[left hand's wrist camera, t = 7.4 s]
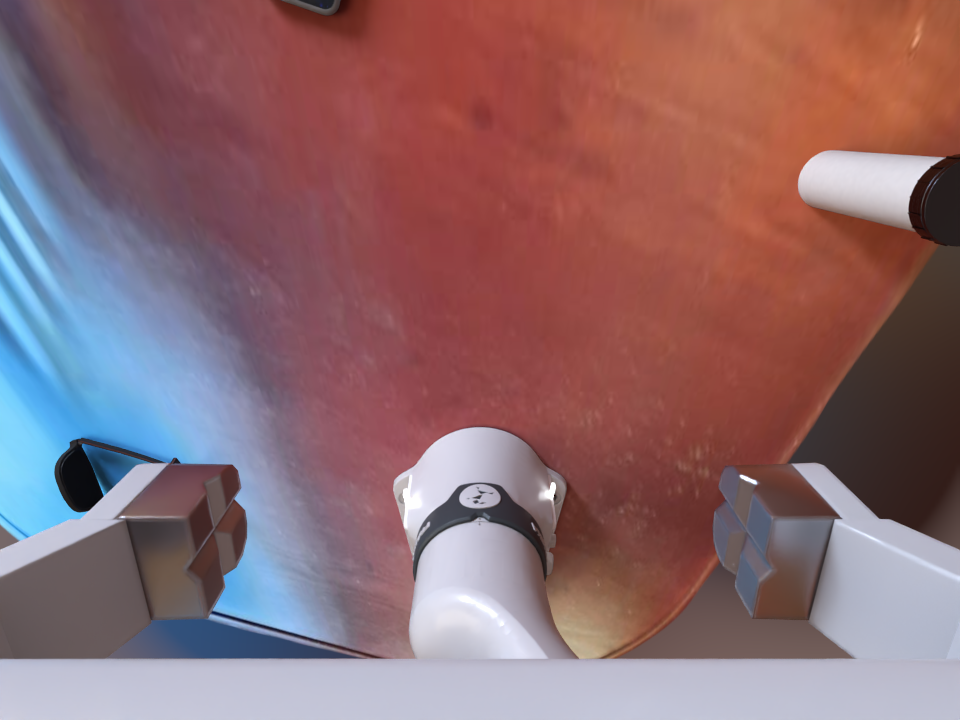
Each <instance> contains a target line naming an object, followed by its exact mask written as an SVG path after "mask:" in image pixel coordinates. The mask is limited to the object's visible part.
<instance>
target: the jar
mask: <svg viewBox="0 0 960 720" xmlns="http://www.w3.org/2000/svg"><path fill="white" fill-rule="evenodd" d="M942 159H945V158H943V157H928V156H913V155H897V154H882V153H867V152H852V151H837V150H829V151H824V152H821V153H819V154H817V155H815V156H814V157H813V158H811V159H810V160H809V161H808V162H807V163H806V164H805V166H804V167H803V169H802V171H801V173H800V176H799V180H798V190H799V194H800V196H801V198H802V199H803V201H804V202H805V203H806V204H808V205H809V206H812V207H815V208H819V209H823V210H827V211H831V212H835V213H839V214H844V215H848V216H852V217H856V218H860V219H864V220H869V221H873V222H877V223H881V224H885V225H889V226H893V227H898V228H902V229H906V230H910V231H914V232H916V231H915V230H914V228H912V225H911V222H910V219H909V214H908V207H909V200H910V198H909V197H910V196H911V193H912V191H913V189H914V187H915V185H916V183H917V182H918V181H917V180H919V179H920V178H921V176H922V175H923V174H924V173H925V172H926V171H927V170H928V169H929V168H930V166H933V165H934V164H936V163H937V162H939V161H941V160H942Z"/></svg>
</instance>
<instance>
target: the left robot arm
mask: <svg viewBox="0 0 960 720" xmlns="http://www.w3.org/2000/svg"><path fill="white" fill-rule="evenodd" d="M240 489H241V484H240V479H239V474H238V470H237V469H236V468H235V467H234V466H233V465H224V464H171V463H147V464H139V465H136V466H135V467H134V468H133V469H132V470H131V471H130V472H129V473H128V474H127V475H126V476H125V477H124V478H123V479H122V480H121V481H120V482H118V483H117V484H116V485H115V486H114V487H113V488H112V489H111V490H110V491H109V492H108V493H107V494H106V495H105V496H104V497H103V498H102V499H101V500H100V501H99V502H98V503H97V504H96V505H95V506H94V507H93V508H92V509H91V510H90V511H89V512H88V513H86V514H85V515H84V516H83V517H82V518H81V519H70V520H68V521H66V522H63V523H61V524H59V525H56V526H54V527H52V528H49V529H47V530H45V531H43V532H40V533H38V534H36V535H33V536H31V537H29V538H26V539H24V540H22V541H19V542H17V543H15V544H13V545H10V546H8V547H6V548H3V549H1V550H0V720H960V550H959V549H956V548H954V547H952V546H950V545H947V544H945V543H943V542H940V541H938V540H936V539H933V538H931V537H929V536H927V535H924V534H922V533H920V532H917V531H915V530H913V529H911V528H908V527H906V526H904V525H901V524H899V523H897V522H894V521H892V520H890V519H879V518H878V517H877V516H876V515H875V514H874V513H873V512H872V511H870V510H869V509H868V508H867V507H866V506H865V505H864V504H863V503H862V502H861V501H860V500H859V499H858V498H857V497H856V496H855V495H854V494H853V493H852V492H851V491H850V490H849V489H848V488H847V487H846V486H845V485H844V484H843V483H842V482H841V481H840V480H839V479H837V477H835V476H834V475H833V474H832V473H831V472H830V471H829V470H828V469H827V468H826V467H825V466H824V465H821V464H818V463H800V464H763V465H730V466H725V467H724V470H723V472H722V474H721V478H720V483H719V489H720V491H721V492H722V494H723V495H724V497H725V498H726V500H725V501H724V502H723V503H722V504H721V505H720V506H719V507H718V508H717V509H716V510H715V513H714V521H713V537H714V546H715V549H716V552H717V555H718V558H719V559H720V561H721V563H722V565H723V567H724V568H726V569H727V570H729V571H730V572H732V573H733V574H735V575H736V576H737V577H736V583H735V589H736V590H737V592H738V594H739V596H740V598H741V599H742V601H743V603H744V605H745V606H746V608H747V610H748V612H749V614H750V615H751V617H752V618H753V619H785V620H809V623H810V624H811V625H812V626H813V627H815V628H816V629H817V630H819V631H820V632H821V633H822V634H824V635H825V636H826V637H828V638H829V639H830V640H831V641H833V642H834V643H835V644H837V645H838V646H839V647H840V648H842V649H843V650H844V651H846V652H847V653H848V654H849V655H851V656H852V657H853V658H855V659H579V658H578V657H577V656H576V655H575V654H574V652H573V651H572V650H571V649H570V648H569V646H568V645H567V644H566V642H565V641H564V639H563V638H562V637H561V635H560V633H559V631H558V630H557V628H556V625H555V623H554V620H553V616H552V613H551V609H550V605H549V601H548V597H547V592H546V586H545V580H546V575H551V573H552V570H553V562H554V558H553V554H552V553H551V552H549V549H550V548H554V547H555V545H556V535H555V534H554V532H555V528H556V525H557V522H558V518H559V515H560V511H561V508H562V505H563V501H564V498H565V494H566V490H567V487H566V481H565V479H564V478H563V477H562V476H561V475H559V474H558V473H556V472H555V471H553V470H551V469H550V468H548V467H546V466H545V465H544V464H543V463H542V461H541V460H540V459H539V457H538V456H537V454H536V453H535V452H534V451H533V449H532V448H531V447H530V446H529V445H528V444H526V443H525V442H524V441H523V440H521V439H520V438H518V437H516V436H514V435H512V434H510V433H508V432H505V431H502V430H498V429H494V428H486V427H474V428H466V429H462V430H458V431H455V432H452V433H450V434H448V435H446V436H444V437H442V438H440V439H439V440H437V441H436V442H435V443H434V444H432V445H431V446H430V447H429V448H428V449H427V451H426V452H425V453H424V454H423V456H422V457H421V459H420V460H419V461H418V463H417V464H416V465H415V466H414V467H412V468H410V469H409V470H407V471H405V472H404V473H402V474H401V475H399V476H398V477H397V478H396V479H395V481H394V487H393V490H394V494H395V498H396V501H397V504H398V508H399V511H400V515H401V518H402V522H403V525H404V528H405V532H406V535H407V539H408V542H409V545H410V549H411V552H412V556H413V575H414V580H415V589H414V596H413V603H412V610H411V617H410V625H409V637H410V643H411V647H412V650H413V653H414V655H415V658H416V659H106V658H107V657H108V656H109V655H111V654H112V653H113V652H114V651H116V650H117V649H118V648H120V647H121V646H122V645H124V644H125V643H126V642H127V641H129V640H130V639H131V638H133V637H134V636H135V635H136V634H138V633H139V632H140V631H142V630H143V629H144V628H146V627H147V626H148V625H149V624H151V620H174V619H208V617H209V615H210V614H211V612H212V610H213V608H214V607H215V605H216V603H217V601H218V599H219V598H220V596H221V594H222V592H223V590H224V589H225V582H224V577H223V576H224V575H225V574H227V573H228V572H230V571H232V570H233V569H235V568H236V567H237V565H238V563H239V561H240V559H241V557H242V555H243V552H244V548H245V544H246V539H247V519H246V513H245V510H244V509H243V508H242V507H241V506H240V505H239V504H238V503H237V502H236V501H235V500H234V498H235V497H236V495H237V494H238V492H239V491H240ZM554 494H555V495H556V496H555V497H553V495H554Z"/></svg>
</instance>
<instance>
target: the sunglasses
mask: <svg viewBox="0 0 960 720" xmlns="http://www.w3.org/2000/svg"><path fill="white" fill-rule="evenodd" d="M83 443H84V444H88V445H91V446H95V447H99V448H103V449H106V450H110V451H114V452H117V453H121V454H124V455H128V456H131V457H134V458H138V459H141V460H144V461H147V462H150V463H165V462H162V461H159V460H157V459H154V458H151V457H148V456H145V455H142V454H138V453H135V452H132V451H129V450H126V449H122V448H119V447H115V446H111V445H108V444H104V443H100V442H97V441H93V440H89V439H85V438H81V439H76V440H73V441H71V442H70V448H69V449H68V450H67V451H66V452H65V453H63V454H62V455H61V457H60V458H59V460H58V461H57V463H56V465H55V479H56V482H57V485H58V487H59V490H60V492H61V494H62V496H63V498H64V500H65V501H66V503H67V504H68V506H69V507H70V508H71V509H72V510H74V511H76V512H86V511H90V510H91V509H92V508H93V507H94V506H95V505H96V504H97V503H98V502H99V501H100V500H101V499H102V498H103V497H104V496H103V493H102V491H101V488H100V486H99V483H98V480H97V478H96V475H95V473H94V470H93V468H92V466H91V463H90V461H89V459H88V457H87V455H86V453H85V452H84V450H83V448H82V444H83ZM171 464H181V463H180V462H179V461H178V459H177V458H173V460H172V461H171Z"/></svg>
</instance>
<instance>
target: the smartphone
mask: <svg viewBox="0 0 960 720" xmlns="http://www.w3.org/2000/svg"><path fill="white" fill-rule="evenodd" d="M281 1H284V2H287V3H290V4H293V5H296V6H299V7H302V8H305V9H308V10H311V11H313V12H316V13H319V14H322V15H326V16H329V15H332V14H334V13H335V12H336V11H337V10H338V8H339V6H340V1H341V0H281Z"/></svg>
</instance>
